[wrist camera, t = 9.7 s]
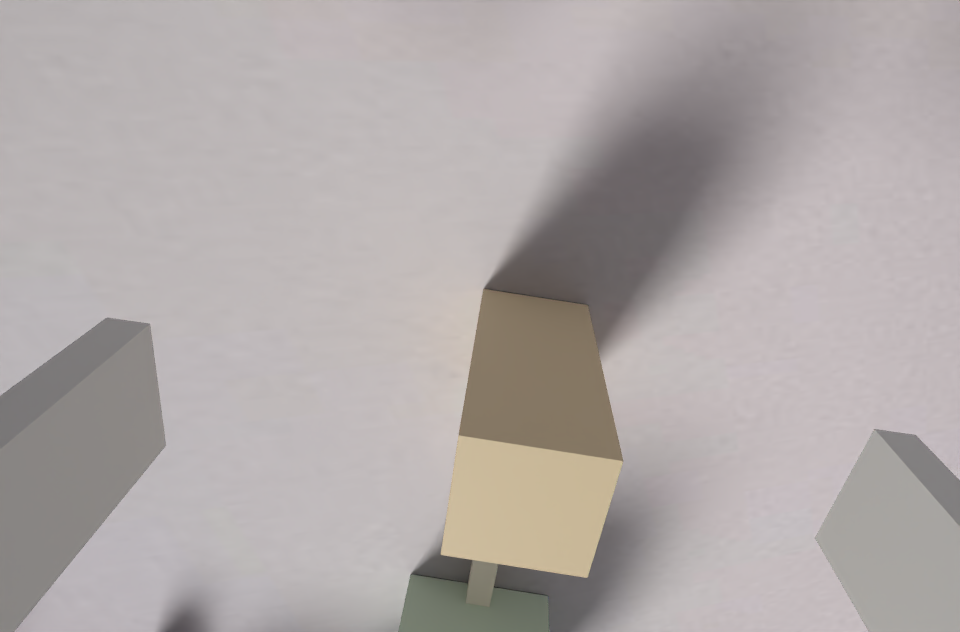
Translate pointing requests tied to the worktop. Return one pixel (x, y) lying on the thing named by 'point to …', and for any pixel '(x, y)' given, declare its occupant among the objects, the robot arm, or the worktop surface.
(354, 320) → the worktop surface
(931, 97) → the worktop surface
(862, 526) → the robot arm
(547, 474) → the tethered block
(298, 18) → the worktop surface
